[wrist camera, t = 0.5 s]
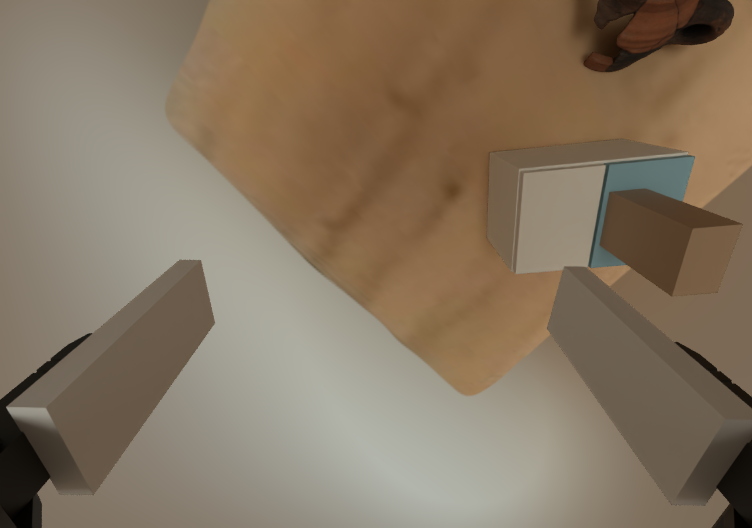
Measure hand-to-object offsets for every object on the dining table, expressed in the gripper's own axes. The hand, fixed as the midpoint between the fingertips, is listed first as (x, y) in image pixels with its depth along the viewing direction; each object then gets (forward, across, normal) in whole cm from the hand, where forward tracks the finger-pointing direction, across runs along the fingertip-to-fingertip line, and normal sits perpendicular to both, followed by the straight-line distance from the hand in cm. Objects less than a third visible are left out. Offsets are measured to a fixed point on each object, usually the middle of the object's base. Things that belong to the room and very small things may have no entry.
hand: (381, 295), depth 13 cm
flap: (+20, +23, -3) cm, 30 cm away
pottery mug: (+29, +23, +14) cm, 39 cm away
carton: (+29, +20, -3) cm, 35 cm away
